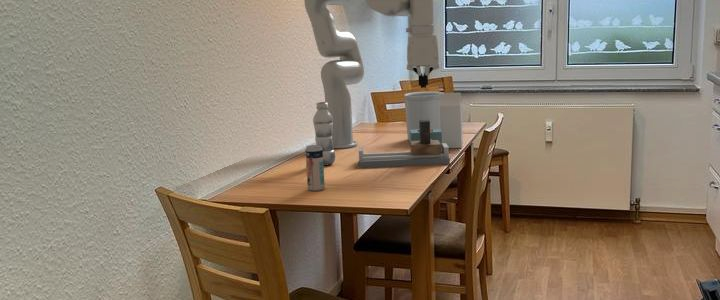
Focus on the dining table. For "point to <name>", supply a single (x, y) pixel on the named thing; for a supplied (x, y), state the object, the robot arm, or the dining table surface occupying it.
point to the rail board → (402, 158)
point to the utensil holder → (422, 109)
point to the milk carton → (451, 119)
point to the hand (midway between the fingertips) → (423, 87)
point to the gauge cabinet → (434, 135)
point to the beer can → (315, 167)
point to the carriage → (425, 141)
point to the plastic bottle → (324, 132)
